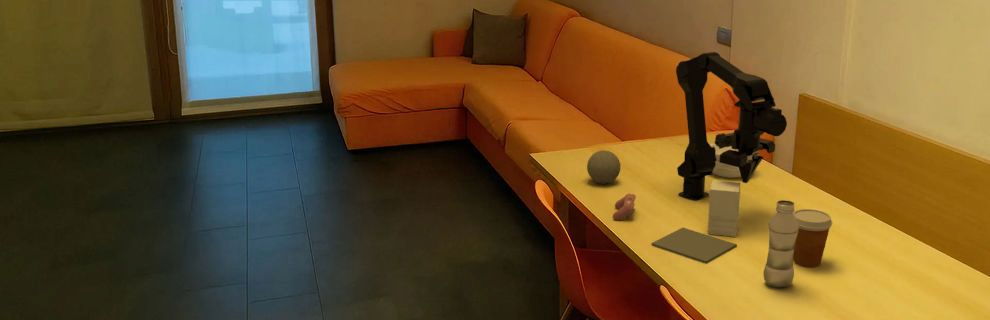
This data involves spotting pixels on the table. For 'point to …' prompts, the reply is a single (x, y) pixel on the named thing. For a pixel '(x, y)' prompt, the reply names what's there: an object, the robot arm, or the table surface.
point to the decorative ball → (603, 166)
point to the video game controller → (624, 206)
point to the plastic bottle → (781, 245)
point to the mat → (694, 245)
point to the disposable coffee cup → (811, 236)
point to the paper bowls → (722, 168)
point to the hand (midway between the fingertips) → (745, 182)
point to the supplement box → (724, 208)
